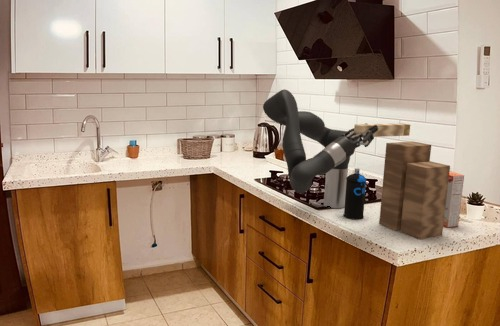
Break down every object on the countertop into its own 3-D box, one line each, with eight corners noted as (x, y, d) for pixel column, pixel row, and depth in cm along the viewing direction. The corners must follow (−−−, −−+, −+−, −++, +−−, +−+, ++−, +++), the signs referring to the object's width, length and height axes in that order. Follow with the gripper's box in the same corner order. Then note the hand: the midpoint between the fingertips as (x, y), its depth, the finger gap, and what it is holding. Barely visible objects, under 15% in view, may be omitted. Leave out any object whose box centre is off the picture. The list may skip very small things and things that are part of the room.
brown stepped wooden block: (417, 239, 169) (426, 151, 162) (379, 224, 185) (386, 143, 179) (443, 234, 175) (454, 149, 169) (404, 219, 192) (412, 141, 185)
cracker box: (421, 217, 195) (426, 167, 191) (433, 216, 198) (438, 167, 194) (446, 228, 183) (452, 175, 179) (458, 226, 185) (465, 174, 181)
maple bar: (361, 137, 163) (362, 125, 162) (353, 135, 166) (354, 124, 165) (409, 135, 174) (410, 124, 173) (401, 134, 177) (402, 123, 176)
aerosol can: (339, 215, 194) (342, 167, 190) (351, 212, 199) (355, 165, 195) (355, 220, 188) (359, 171, 184) (367, 217, 193) (371, 169, 189)
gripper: (328, 157, 169) (361, 132, 174) (354, 165, 157) (390, 138, 162) (320, 139, 166) (355, 115, 171) (347, 146, 154) (383, 119, 159)
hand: (372, 126), depth 167 cm, fingers closed on maple bar, 4 cm apart
